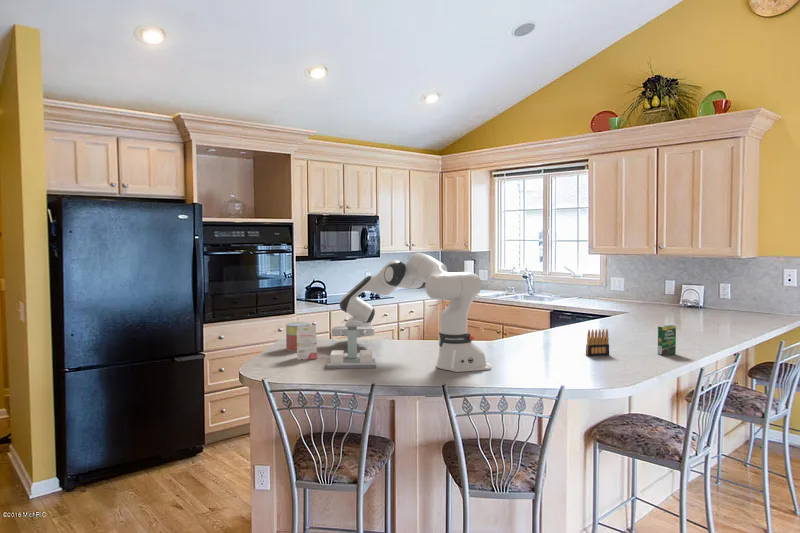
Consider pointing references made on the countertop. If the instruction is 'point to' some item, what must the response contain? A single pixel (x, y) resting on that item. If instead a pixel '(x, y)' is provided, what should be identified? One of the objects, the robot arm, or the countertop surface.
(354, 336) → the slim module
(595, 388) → the countertop surface
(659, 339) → the coffee box
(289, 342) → the canned food
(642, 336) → the countertop surface
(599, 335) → the ammunition clip
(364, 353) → the mounting board
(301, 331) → the ink cartridge box
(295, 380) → the countertop surface
